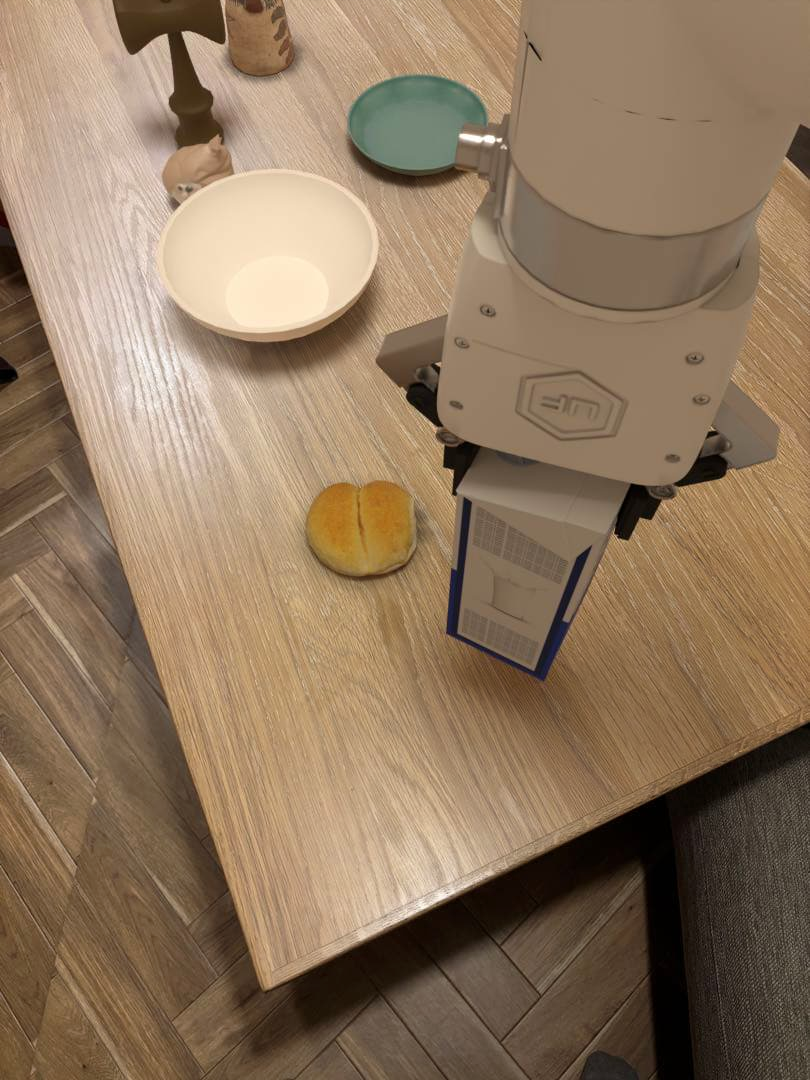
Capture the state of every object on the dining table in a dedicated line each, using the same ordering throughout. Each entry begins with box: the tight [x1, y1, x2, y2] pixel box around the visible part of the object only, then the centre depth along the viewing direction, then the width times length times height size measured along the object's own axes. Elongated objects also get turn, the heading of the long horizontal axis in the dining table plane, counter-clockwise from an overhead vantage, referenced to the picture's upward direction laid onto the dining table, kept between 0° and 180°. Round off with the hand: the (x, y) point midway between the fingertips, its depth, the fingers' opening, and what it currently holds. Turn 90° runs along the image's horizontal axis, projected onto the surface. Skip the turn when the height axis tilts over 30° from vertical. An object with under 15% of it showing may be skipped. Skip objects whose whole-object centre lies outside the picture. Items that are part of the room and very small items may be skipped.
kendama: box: [111, 0, 227, 149], centre depth 83 cm, size 6×10×20 cm, turn 103°
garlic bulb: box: [161, 134, 235, 205], centre depth 84 cm, size 7×6×8 cm
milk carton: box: [445, 446, 632, 682], centre depth 46 cm, size 7×7×20 cm
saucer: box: [346, 73, 490, 177], centre depth 91 cm, size 15×15×3 cm
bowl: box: [156, 168, 380, 343], centre depth 79 cm, size 20×20×7 cm
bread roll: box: [305, 479, 418, 577], centre depth 69 cm, size 8×9×4 cm
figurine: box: [224, 0, 295, 77], centre depth 93 cm, size 7×7×12 cm
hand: (546, 491), depth 41 cm, fingers closed on milk carton, 7 cm apart
